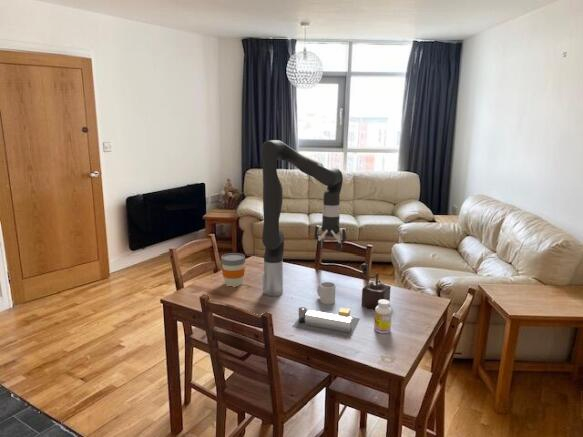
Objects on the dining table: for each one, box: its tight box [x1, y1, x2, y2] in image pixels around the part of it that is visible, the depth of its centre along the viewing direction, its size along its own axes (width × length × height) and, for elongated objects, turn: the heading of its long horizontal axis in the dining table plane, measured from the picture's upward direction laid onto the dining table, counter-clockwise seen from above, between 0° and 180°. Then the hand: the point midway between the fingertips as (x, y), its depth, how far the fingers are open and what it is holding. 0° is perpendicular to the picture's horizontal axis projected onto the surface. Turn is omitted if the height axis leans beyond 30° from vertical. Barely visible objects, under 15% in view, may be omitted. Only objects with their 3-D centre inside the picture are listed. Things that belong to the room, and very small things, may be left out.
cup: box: [317, 281, 337, 305], centre depth 203 cm, size 7×10×9 cm
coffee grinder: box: [359, 263, 392, 312], centre depth 199 cm, size 16×11×18 cm
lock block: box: [338, 307, 351, 317], centre depth 180 cm, size 4×4×6 cm
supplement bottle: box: [373, 299, 393, 334], centre depth 175 cm, size 7×7×13 cm
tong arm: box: [307, 309, 353, 329], centre depth 179 cm, size 19×2×4 cm, turn 69°
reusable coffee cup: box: [220, 252, 246, 287], centre depth 222 cm, size 12×13×15 cm
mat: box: [291, 308, 361, 339], centre depth 182 cm, size 25×18×1 cm
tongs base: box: [298, 306, 351, 332], centre depth 178 cm, size 23×4×6 cm, turn 69°
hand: (329, 249), depth 191 cm, fingers open, 8 cm apart
